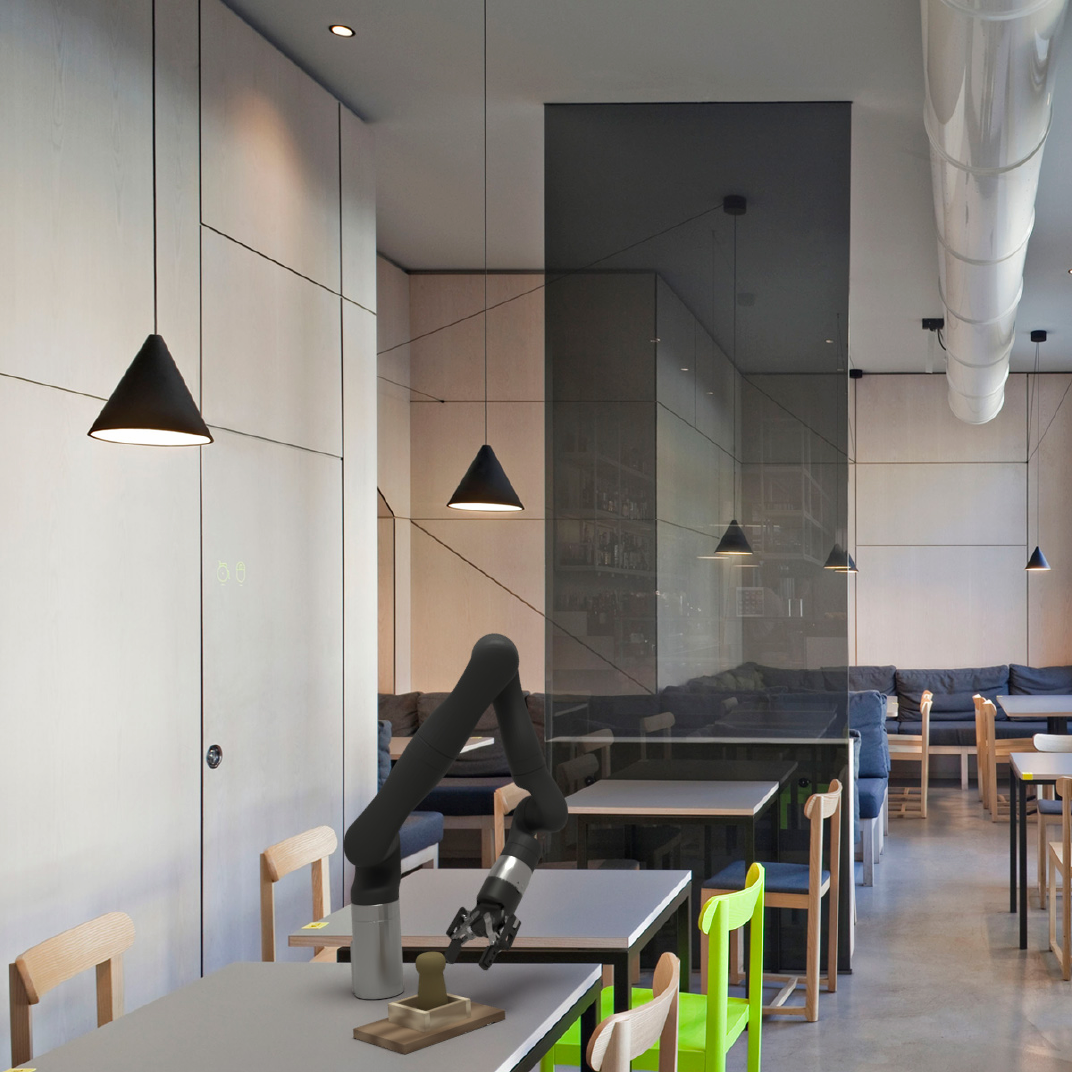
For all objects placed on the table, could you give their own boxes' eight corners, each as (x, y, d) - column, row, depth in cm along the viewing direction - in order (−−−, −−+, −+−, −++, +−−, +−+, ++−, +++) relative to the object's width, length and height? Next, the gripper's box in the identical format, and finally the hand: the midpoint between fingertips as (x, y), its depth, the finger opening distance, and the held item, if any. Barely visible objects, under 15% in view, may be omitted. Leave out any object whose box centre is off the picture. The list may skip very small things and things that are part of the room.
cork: (445, 1024, 206) (442, 957, 207) (411, 1024, 207) (408, 957, 208) (455, 1013, 212) (451, 948, 213) (421, 1013, 213) (418, 948, 214)
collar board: (353, 1037, 207) (352, 1010, 207) (452, 1005, 222) (451, 979, 222) (404, 1054, 197) (403, 1025, 197) (505, 1019, 212) (503, 992, 212)
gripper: (466, 871, 229) (425, 948, 220) (523, 877, 220) (482, 958, 210) (487, 894, 233) (448, 971, 223) (544, 901, 224) (505, 981, 214)
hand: (465, 964), depth 217 cm, fingers open, 8 cm apart
